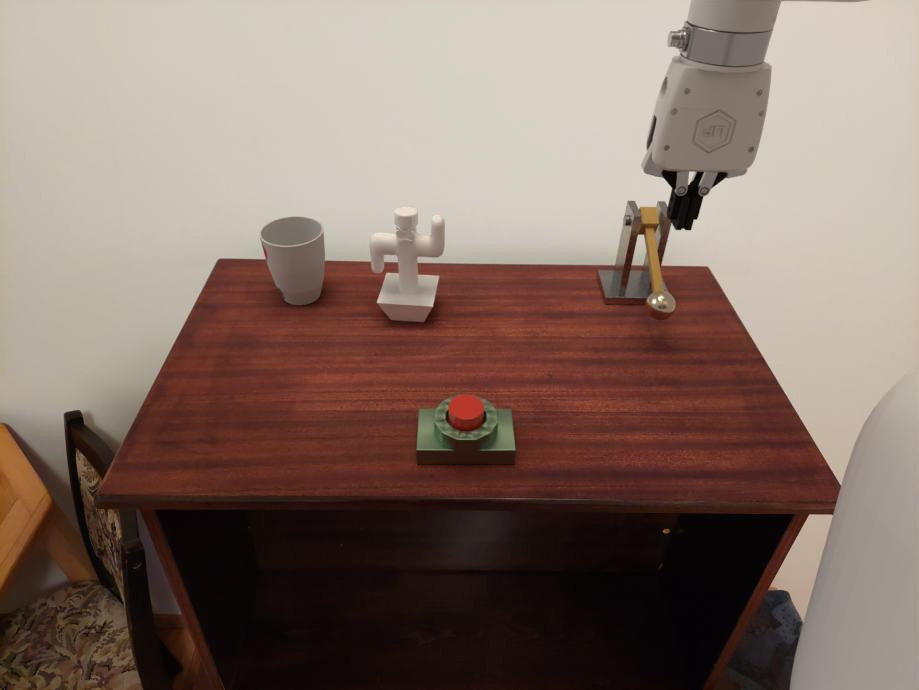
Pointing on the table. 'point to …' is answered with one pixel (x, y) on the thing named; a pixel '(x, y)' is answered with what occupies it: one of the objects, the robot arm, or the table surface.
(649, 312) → the lever
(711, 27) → the robot arm
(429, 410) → the button box
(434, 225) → the figurine
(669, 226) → the bracket
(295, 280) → the cup
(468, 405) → the button
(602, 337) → the table surface
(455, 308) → the table surface
